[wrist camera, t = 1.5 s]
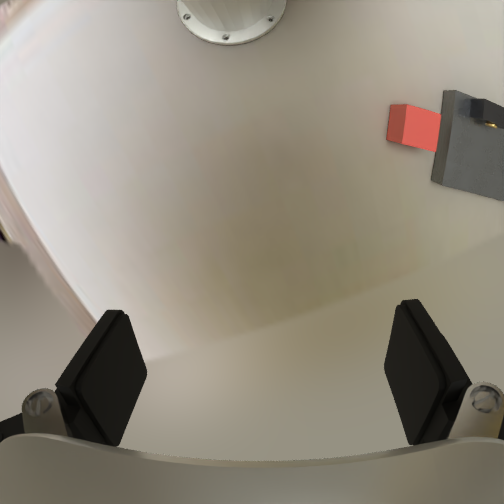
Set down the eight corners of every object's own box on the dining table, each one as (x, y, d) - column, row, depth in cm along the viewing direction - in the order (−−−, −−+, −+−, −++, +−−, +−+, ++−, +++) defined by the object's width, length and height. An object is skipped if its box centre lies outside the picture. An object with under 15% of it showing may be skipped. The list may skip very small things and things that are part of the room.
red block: (390, 104, 33) (407, 104, 28) (422, 113, 33) (441, 114, 28) (386, 139, 35) (401, 143, 30) (417, 146, 35) (435, 152, 30)
